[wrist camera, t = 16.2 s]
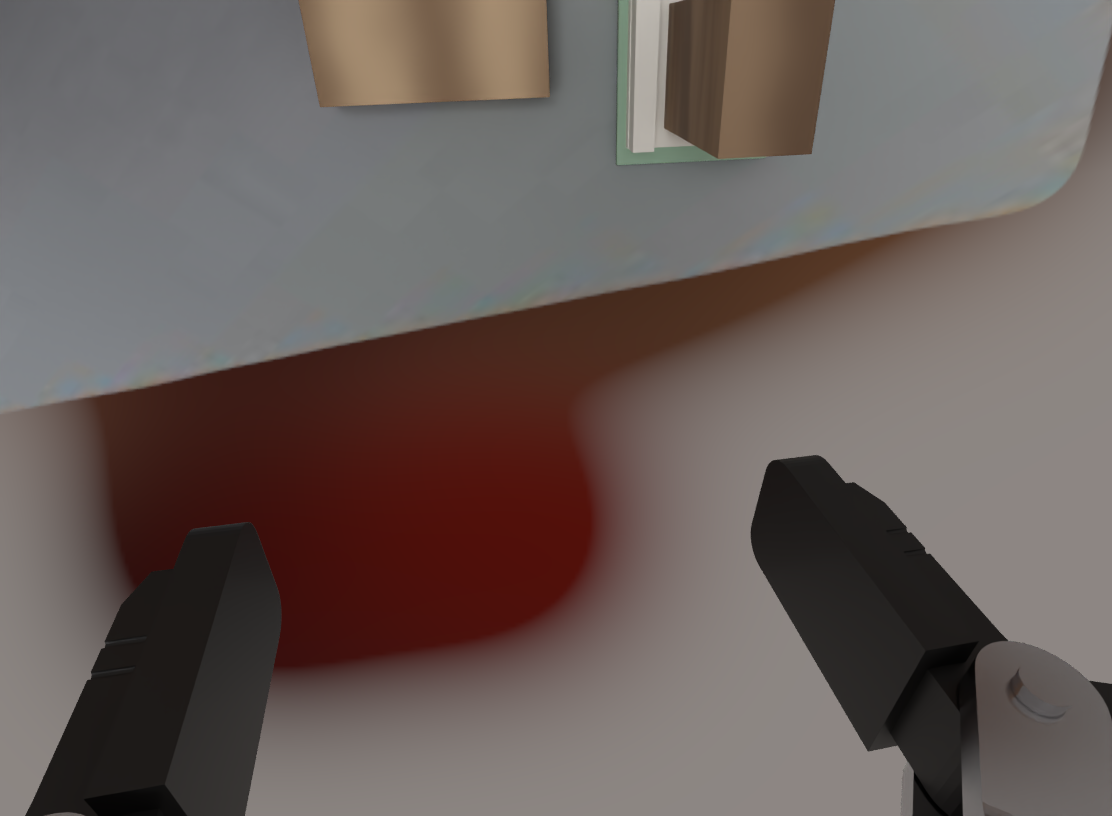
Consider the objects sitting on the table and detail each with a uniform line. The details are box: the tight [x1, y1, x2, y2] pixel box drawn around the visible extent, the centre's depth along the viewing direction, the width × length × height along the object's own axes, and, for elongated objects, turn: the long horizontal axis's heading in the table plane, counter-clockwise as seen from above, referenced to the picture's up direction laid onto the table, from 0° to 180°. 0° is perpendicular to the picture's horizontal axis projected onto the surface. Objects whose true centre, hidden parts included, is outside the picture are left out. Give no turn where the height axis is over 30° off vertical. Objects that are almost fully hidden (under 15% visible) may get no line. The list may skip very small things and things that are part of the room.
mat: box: [616, 0, 766, 165], centre depth 36 cm, size 9×10×1 cm
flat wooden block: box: [299, 0, 550, 107], centre depth 32 cm, size 12×9×3 cm
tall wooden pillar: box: [664, 0, 835, 159], centre depth 30 cm, size 4×6×11 cm, turn 2°
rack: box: [626, 0, 694, 153], centre depth 34 cm, size 8×8×2 cm
